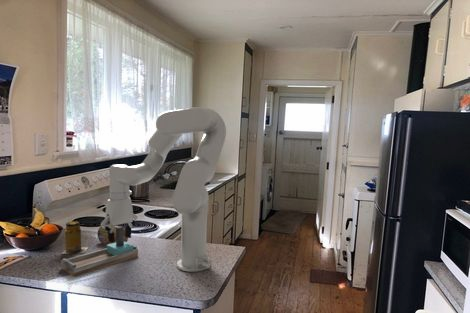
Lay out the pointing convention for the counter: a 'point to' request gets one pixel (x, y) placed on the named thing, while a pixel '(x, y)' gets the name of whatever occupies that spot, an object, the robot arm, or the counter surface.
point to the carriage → (119, 243)
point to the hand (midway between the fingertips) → (119, 239)
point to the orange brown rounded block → (104, 235)
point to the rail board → (95, 261)
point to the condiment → (73, 238)
